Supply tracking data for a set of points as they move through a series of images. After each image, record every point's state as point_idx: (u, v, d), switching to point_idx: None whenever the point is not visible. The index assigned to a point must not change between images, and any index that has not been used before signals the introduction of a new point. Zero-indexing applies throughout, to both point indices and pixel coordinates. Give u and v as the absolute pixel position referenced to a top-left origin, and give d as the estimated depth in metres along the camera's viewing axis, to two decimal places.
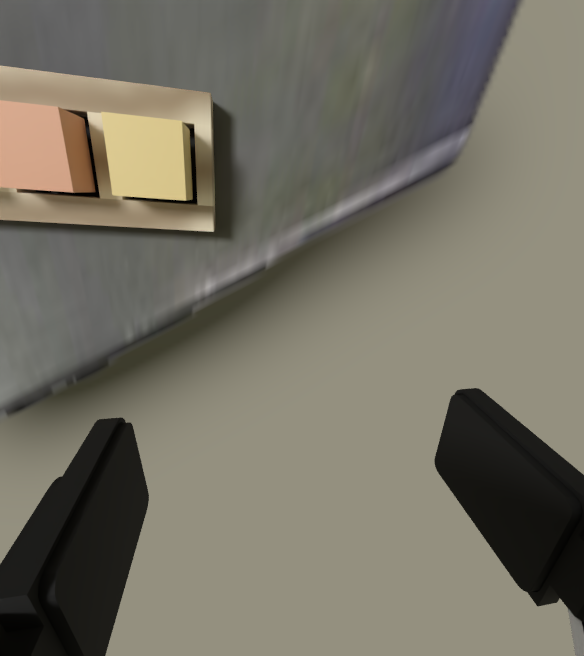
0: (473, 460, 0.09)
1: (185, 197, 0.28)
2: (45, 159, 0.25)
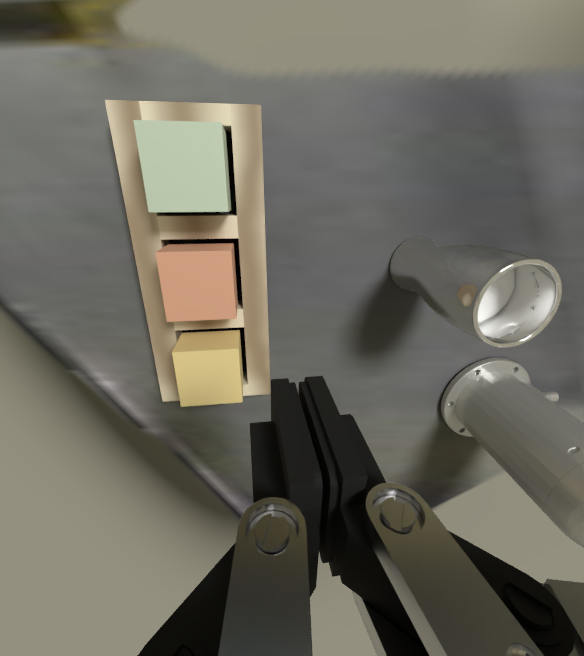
0: None
1: (183, 405, 0.31)
2: (191, 303, 0.27)
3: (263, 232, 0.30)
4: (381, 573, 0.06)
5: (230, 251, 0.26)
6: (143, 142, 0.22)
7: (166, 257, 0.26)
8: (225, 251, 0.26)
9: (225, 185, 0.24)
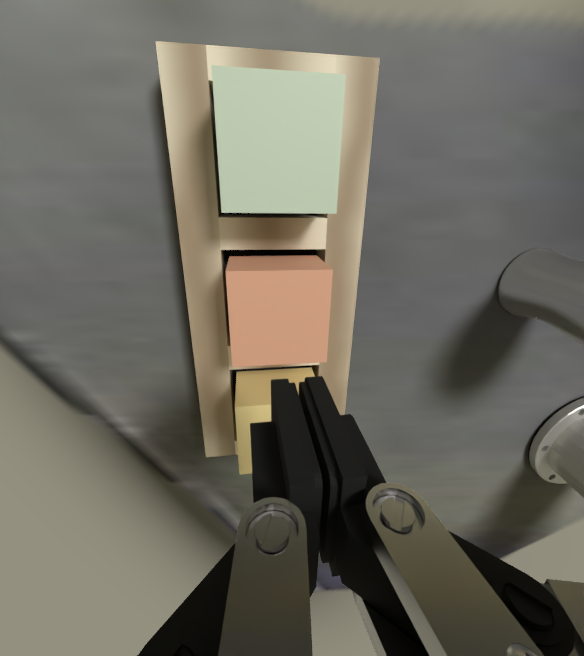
0: None
1: (243, 472, 0.23)
2: (268, 342, 0.19)
3: (359, 241, 0.22)
4: (381, 573, 0.06)
5: (331, 270, 0.18)
6: (224, 103, 0.14)
7: (240, 278, 0.17)
8: (324, 270, 0.18)
9: (337, 174, 0.16)
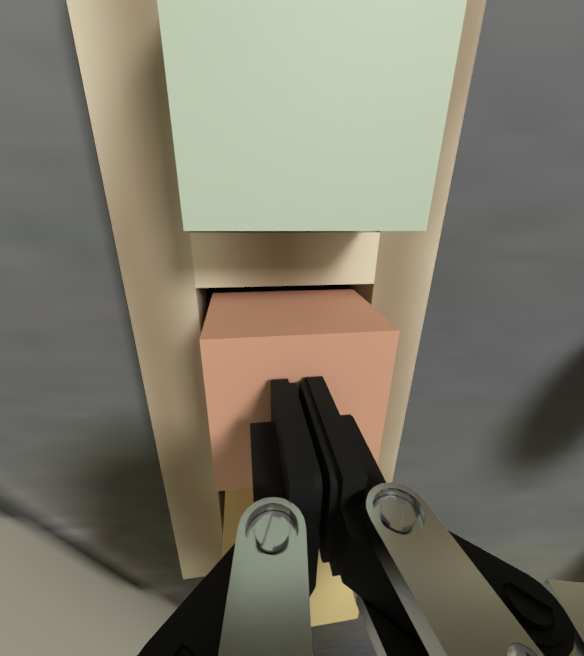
0: None
1: None
2: None
3: (430, 270, 0.13)
4: (381, 573, 0.06)
5: (395, 331, 0.10)
6: None
7: (228, 351, 0.09)
8: (384, 332, 0.10)
9: (437, 146, 0.07)
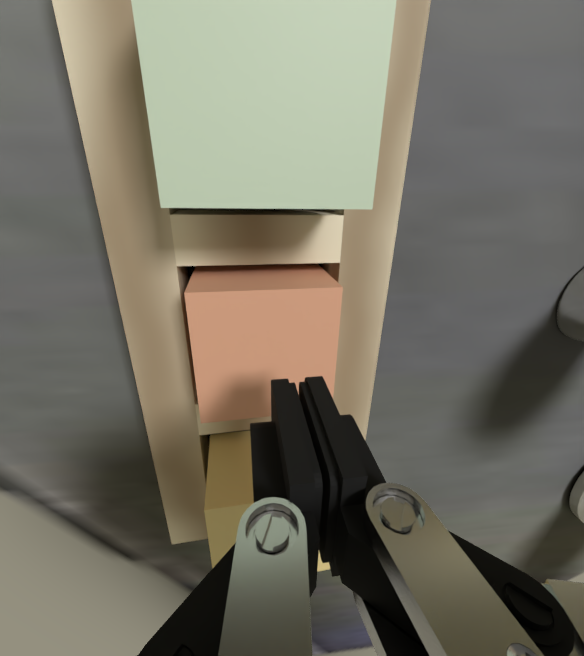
0: None
1: None
2: (252, 388, 0.14)
3: (390, 250, 0.14)
4: (381, 573, 0.06)
5: (340, 288, 0.13)
6: None
7: (207, 303, 0.12)
8: (331, 289, 0.12)
9: (377, 136, 0.09)
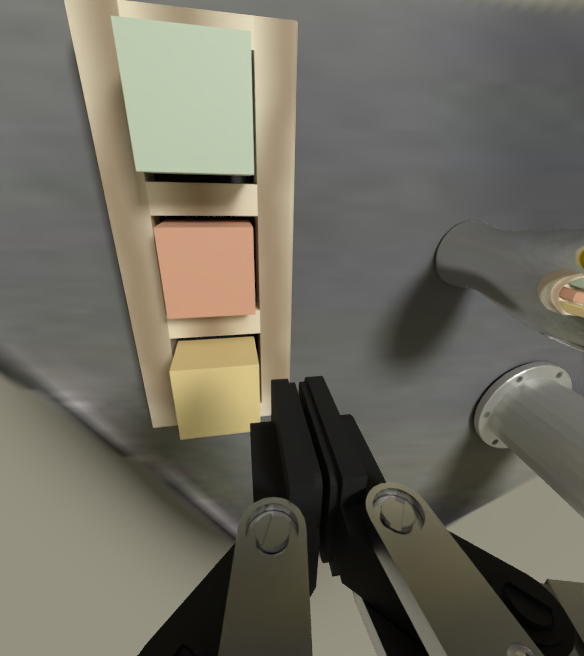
0: None
1: (184, 438, 0.24)
2: (199, 295, 0.21)
3: (291, 208, 0.22)
4: (381, 573, 0.06)
5: (251, 228, 0.20)
6: (128, 56, 0.14)
7: (167, 234, 0.19)
8: (245, 228, 0.20)
9: (251, 134, 0.16)
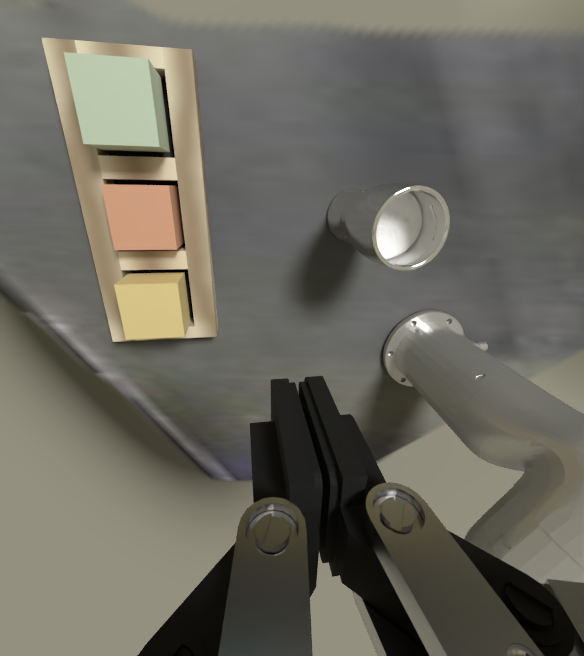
0: None
1: (128, 339, 0.33)
2: (136, 233, 0.31)
3: (201, 175, 0.32)
4: (381, 573, 0.06)
5: (168, 186, 0.30)
6: (75, 74, 0.24)
7: (110, 189, 0.29)
8: (163, 186, 0.30)
9: (155, 120, 0.26)
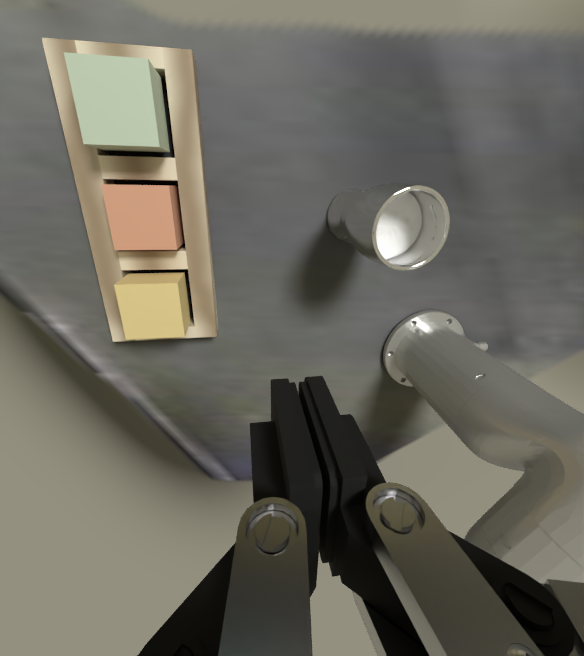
0: None
1: (128, 339, 0.33)
2: (136, 233, 0.31)
3: (201, 175, 0.32)
4: (381, 573, 0.06)
5: (168, 186, 0.30)
6: (75, 75, 0.24)
7: (110, 189, 0.29)
8: (164, 186, 0.30)
9: (155, 120, 0.26)
